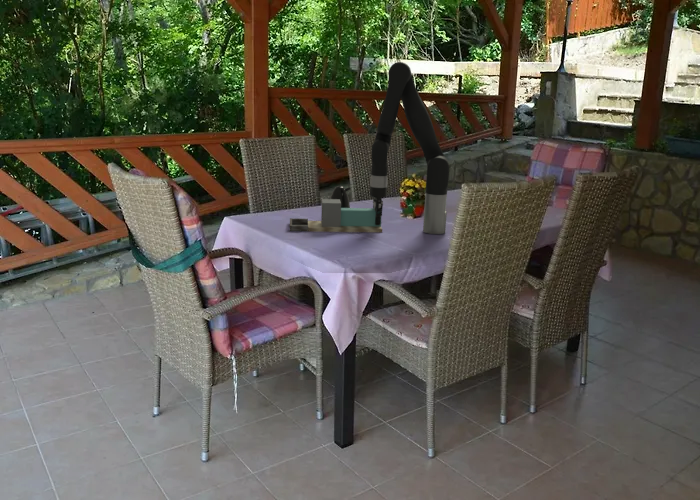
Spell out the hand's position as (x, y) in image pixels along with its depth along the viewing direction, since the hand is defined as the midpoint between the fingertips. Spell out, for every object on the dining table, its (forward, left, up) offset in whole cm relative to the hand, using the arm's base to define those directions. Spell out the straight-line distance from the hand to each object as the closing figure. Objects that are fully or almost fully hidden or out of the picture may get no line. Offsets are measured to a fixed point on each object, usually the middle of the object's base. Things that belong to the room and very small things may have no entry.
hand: (376, 223), depth 279 cm
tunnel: (+21, 0, -1) cm, 21 cm away
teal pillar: (+7, 0, -1) cm, 8 cm away
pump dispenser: (+15, -20, -3) cm, 25 cm away
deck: (+18, 0, -2) cm, 19 cm away
